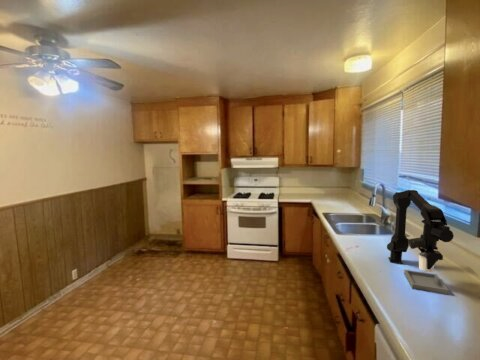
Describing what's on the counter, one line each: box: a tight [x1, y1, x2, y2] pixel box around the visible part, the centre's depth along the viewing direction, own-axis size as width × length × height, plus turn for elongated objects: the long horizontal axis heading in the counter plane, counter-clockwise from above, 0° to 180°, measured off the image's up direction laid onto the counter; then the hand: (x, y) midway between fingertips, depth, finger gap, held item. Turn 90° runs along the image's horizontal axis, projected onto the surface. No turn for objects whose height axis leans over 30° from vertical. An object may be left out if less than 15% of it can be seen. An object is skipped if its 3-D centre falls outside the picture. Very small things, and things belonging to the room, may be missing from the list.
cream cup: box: [418, 252, 436, 273], centre depth 130 cm, size 7×7×7 cm
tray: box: [403, 269, 450, 295], centre depth 132 cm, size 16×14×2 cm
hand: (426, 266), depth 131 cm, fingers closed on cream cup, 6 cm apart
